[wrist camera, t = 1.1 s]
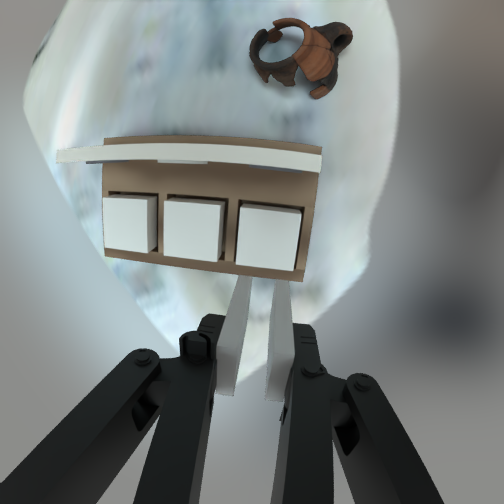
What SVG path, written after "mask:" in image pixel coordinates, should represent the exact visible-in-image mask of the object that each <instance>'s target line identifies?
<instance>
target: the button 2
mask: <svg viewBox="0 0 504 504" xmlns="http://www.w3.org/2000/svg"><path fill="white" fill-rule="evenodd" d="M301 215H302V214H301V212H300V210H298V209H290V208H281V207H273V206H264V205H255V204H245V203H243V205H242V206H241V207H240V218H239V230H238V242H237V255H236V265H244V266H252V267H261V268H270V269H278V270H287V271H293V269H294V263H295V257H296V250H297V243H298V236H299V229H300V222H301Z"/></svg>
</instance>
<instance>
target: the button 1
mask: <svg viewBox="0 0 504 504" xmlns="http://www.w3.org/2000/svg"><path fill="white" fill-rule="evenodd" d="M103 229H104V245H105V248H112V249H119V250H127V251H134V252H141V253H149V252H150V251H151V250H153V249H154V248H155V247H156V246H157V196H141V195H120V194H114V195H110V196H106V197H103Z"/></svg>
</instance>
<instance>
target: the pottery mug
mask: <svg viewBox="0 0 504 504" xmlns="http://www.w3.org/2000/svg"><path fill="white" fill-rule="evenodd" d="M273 25H274V26H275V27H274V28H272V29H271V30H269V31H268V32H267V31H266V29H262V30H259V31H258V32H257V33H256V35H255V36H254V38H253V39H252V41H251V44H250V49H249V50H250V52H249V54H250V55H249V56H250V58H251V60H252V62H253V63H254V67H255V69H256V71H257V72H258V73H259V75H260V76H261V78H262V79H263V81H264V82H265V83H268V78H269V76H270V74H272V76H273V78H275V79H276V80H277V81H279V82H281V83H282V84H283V85H284V86H291V87H293V86H295V85H296V84H295V81H294V78H295V73H296V70H297V68H298V66H299V67H300V68H301V70H302V71H303V72H304V74H305V76H306V78H307V79H308V80H310V81H313V82H315V81H317V80H319V81H320V82H322V83H323V85H321V86H320V87H318V88H317V89H315V90H313V91H311V92H310V95H311V96H312V97H314V99H318V98H321V97H323V96H325V95H326V94H327V93H328V92H330V91H331V90H332V89H333V87H334V86H335V84H336V81H337V77H338V72H337V68H338V58H337V57H338V55H339V53H340V52H341V51H342V50H343V49H345V48H346V47H347V46H348V45H349V44H350V43H351V41H352V39H353V34H352V30H351V29H350V28H349V27H348V26H347V25H346V24H344V23H340V22H332V23H329V24H327V25H324V26H320V27H317V26H315V27H313V28H310V25H307V24H306V23H305V22H303V21H301V20H299V19H295V18H283V19H279V20H276V21H274V22H273ZM291 26H296V27H299V28H301V29H302V30H303V32H304V40H303V43H302V45H301V46H300V48H299V49H298V50H297V51H296V52H295V53H294V54H293V55H292V56H291V57H289V58H287V59H285V60H282V61H279V62H274V63H267V62H263V61H262V60H260V58H259V50H260V49H261V47H262V46H263V45H264V44H265V43H266V42H267V41H270V42H277V41H278V40H279V39H280V38H281V37H282V35H283V34H282V32H281V31H279V30H280V29H282V28H286V27H291Z"/></svg>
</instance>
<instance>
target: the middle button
mask: <svg viewBox="0 0 504 504" xmlns="http://www.w3.org/2000/svg"><path fill="white" fill-rule="evenodd" d="M224 211H225V202H224V201H213V200H201V199H189V198H175V197H173V198H170V199H168V200H165V201H164V256H172V257H179V258H187V259H195V260H203V261H211V262H217V261H218V259H219V258H220V256H221V254H222V240H223V225H224Z"/></svg>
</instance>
